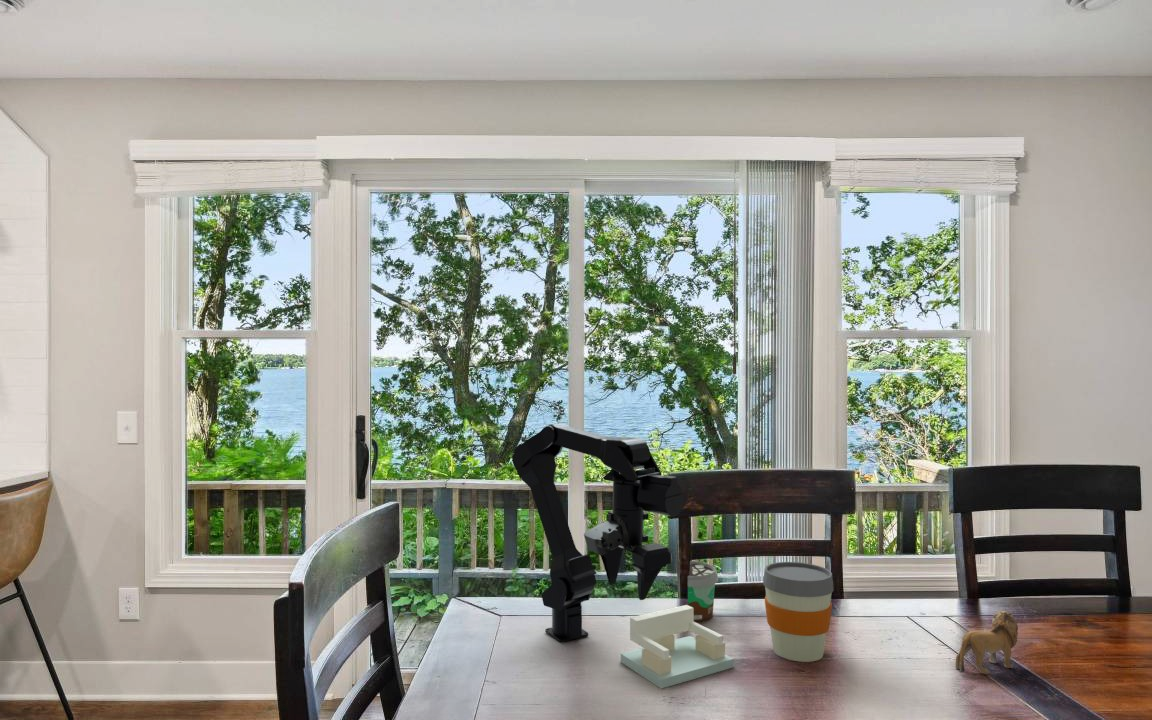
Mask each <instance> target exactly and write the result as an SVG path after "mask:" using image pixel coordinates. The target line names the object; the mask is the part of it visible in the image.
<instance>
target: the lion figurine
mask: <svg viewBox="0 0 1152 720" xmlns="http://www.w3.org/2000/svg"><path fill="white" fill-rule="evenodd" d="M992 616H993V618H992V619H991V621H992V623H991V628H990V629H989V630H987V631H978V630H970V631H967V632H966V633H965V634H964V635H963V637H962V641H961V647H960V649H959V652H958V654H957V655H956V657H955V669H958V670H959V673H960V674H962V673H963V674H964V672H965V656H966V655H967V654H968V653H969V652H970V651H971V650H972V652H973V654H974V656H975V666H976V667H977V669H978V670H979V672H980V673H981V674H983V675H989V674H990V672H989V670H988V669H987V668H984V667H983V661H984V657H985V653H988V654H989V659H988V661H989V663H991V664H997V662H998V660H997V654H996V653H998V652H1001V651H1002V652H1003V656H1004V658H1003V667H1004V668H1006V669H1009V668H1012V669H1013V666H1012V664H1010V663H1011V657H1012V649H1013V648H1014V647H1015V646H1016V645H1017V642H1018V635H1019V633H1018V632H1019V626H1018V620H1017V619H1016V617H1015V616H1014V615H1013V613H1011V612H1010V611H1005V610H998V612H995V613H994V614H993V615H992Z"/></svg>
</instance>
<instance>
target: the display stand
mask: <svg viewBox="0 0 1152 720" xmlns="http://www.w3.org/2000/svg"><path fill="white" fill-rule="evenodd" d="M653 641H654V642H656V643H658V644H660V645H661V646H663V647H665V648H667V649H668V650H669V659H667V660H663V659H662V658H660V657H658V656H657V655H655V654H653V653H652V652H650V651H648V650H646V649H645V648H643V647H641V648H637V649H634V650H630V651H629V650H628V651H625V652H621V653H620V663H622V665H625V666H627V668H629V669H631V670H632V671H633V672H635V673H637V674H639V675H640V676H642V677H643V678H645V679H646V680H647V681H649V682H651V683H653V684H654V685H655V686H656V687H659V688H660V689H664V688H668V687H672V686H675V685H678V684H682V683H685V682H688V681H691V680H695V679H699V678H702V677H705V676H709V675H713V674H716V673H719V672H722V671H725V670H729V669H733V668H734V667H735V658H733V657H732V656H729V654H726V643H725V641H723V644H722V645H717V644H715V643H713V642H711V641H709V640H707V639H705V638H703V637H701V636H699V635H697V634H696V635H695V637H693V636H691V635H689V636H684V637H679V638H676V639H675V634H673V635H669V636H665V637H661V638H657V639H653Z"/></svg>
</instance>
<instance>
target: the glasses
mask: <svg viewBox="0 0 1152 720" xmlns="http://www.w3.org/2000/svg"><path fill="white" fill-rule="evenodd" d="M629 626H630V627H629V629H630V630H629V640H630V641H631V642H633V643H634V644H637V645H638V646H640V647H641V648H645V649H646V650H648V651H650V652H652V653H653V654H655V655H657V656H658V657H660V658H662V659H663V660H667V659H669V650H668V649H667V648H665V647H663V646H661V645H660V644H658V643H656V642H654V641H653V639H657V638H661V637H665V636H669V635H677V634H680V633H685V632H688V631H689V632H691V633H694V634H696V636H697V635H699V636H701V637H703V638H705V639H707V640H709V641H711V642H713V643H715V644H717V645H722V644H723V642H724V635H722V634H720V633H719V632H716V631H714V630H712V629H711V628H708V627H706V626H703V625H701V623H696V622H694V608H692V607H690V606H688V604H685V605H684V604H683V605H679V606H676V607H671V608H667V609H661V610H657V611H654V612H649V613H645V614H640V615H636V616H631V617H629Z"/></svg>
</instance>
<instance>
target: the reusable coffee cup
mask: <svg viewBox="0 0 1152 720" xmlns="http://www.w3.org/2000/svg"><path fill="white" fill-rule="evenodd" d="M762 579H763V580H762V584H763V586H764V588H765V597H764V605H765V606H764V607H765V614H766V622H767V624H768V626H769V629H770V637H771V645H772V650H773V652H774V653H775V654H776V655H777V656H779V657H781V658H783V659H785V660H789V661H794V662H800V663H801V662H803V663H810V662H816V661H819V660H822V659H823V656H824V651H825V645H826V638H827V637H826V636H827V632H828V631H829V630H830V626H831V619H832V611H833V610H832V609H833V603H832V602H831V600H832V593H834V581H833V573H832V572H831V571H830V570H829V569H828V568H826V567H823V566H820V565H817V564H814V563H813V564H811V563H807V562H806V563H805V562H800V561H799V562H797V561H781V562H773V563H770V564H767V565H766V566H765V567H764V571H763V578H762Z"/></svg>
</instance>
